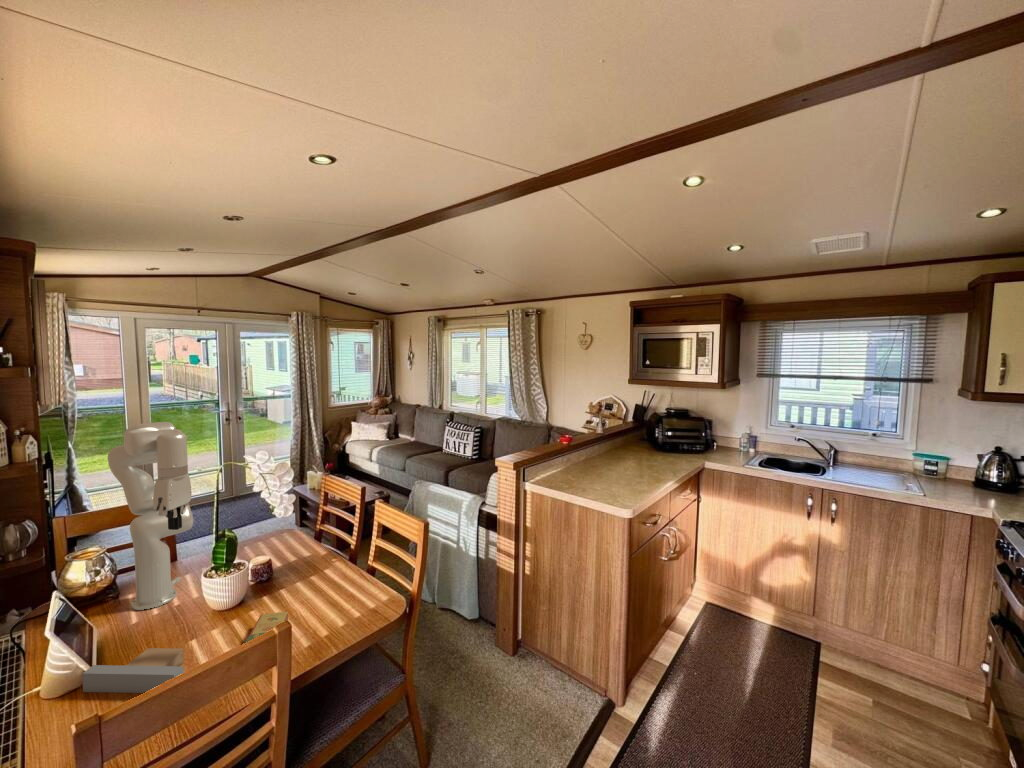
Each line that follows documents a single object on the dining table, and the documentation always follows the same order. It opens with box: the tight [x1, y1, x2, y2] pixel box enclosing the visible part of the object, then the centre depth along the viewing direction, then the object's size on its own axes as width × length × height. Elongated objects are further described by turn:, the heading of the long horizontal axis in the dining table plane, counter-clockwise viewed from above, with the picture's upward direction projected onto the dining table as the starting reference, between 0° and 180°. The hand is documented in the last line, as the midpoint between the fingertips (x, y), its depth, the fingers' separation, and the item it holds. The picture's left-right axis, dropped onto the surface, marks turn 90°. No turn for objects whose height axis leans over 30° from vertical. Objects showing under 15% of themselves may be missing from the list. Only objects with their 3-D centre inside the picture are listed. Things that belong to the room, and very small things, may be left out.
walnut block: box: [125, 647, 185, 667], centre depth 117 cm, size 8×10×4 cm
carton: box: [244, 611, 289, 644], centre depth 131 cm, size 8×16×4 cm, turn 14°
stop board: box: [81, 664, 185, 694], centre depth 111 cm, size 3×24×5 cm, turn 89°
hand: (175, 528), depth 136 cm, fingers closed
